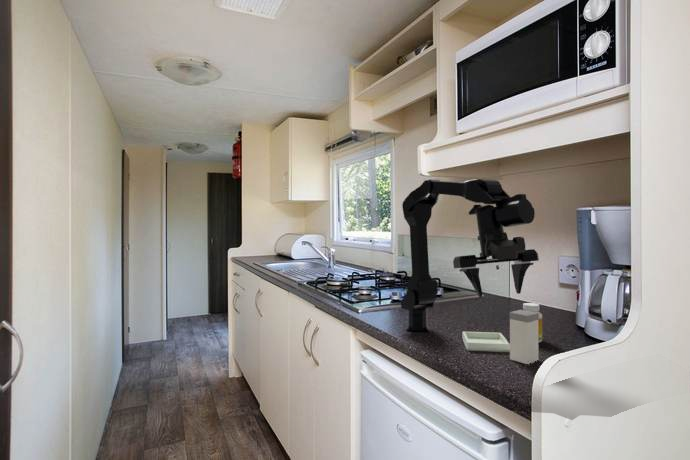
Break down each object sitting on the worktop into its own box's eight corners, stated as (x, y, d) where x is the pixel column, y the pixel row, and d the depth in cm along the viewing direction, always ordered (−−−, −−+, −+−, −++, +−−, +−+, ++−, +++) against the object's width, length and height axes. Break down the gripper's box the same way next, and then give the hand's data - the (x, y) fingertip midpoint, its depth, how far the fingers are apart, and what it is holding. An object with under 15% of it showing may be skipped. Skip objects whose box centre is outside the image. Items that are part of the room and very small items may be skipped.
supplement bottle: (536, 337, 111) (536, 302, 111) (546, 343, 106) (546, 306, 105) (516, 337, 111) (516, 302, 110) (526, 343, 105) (526, 306, 105)
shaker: (509, 359, 94) (509, 312, 94) (520, 355, 96) (520, 309, 96) (527, 364, 90) (527, 315, 90) (538, 360, 93) (538, 313, 93)
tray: (462, 338, 110) (462, 331, 110) (500, 340, 108) (500, 332, 108) (467, 350, 100) (467, 342, 100) (509, 352, 99) (509, 344, 99)
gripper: (464, 229, 89) (473, 301, 87) (546, 222, 90) (556, 293, 88) (449, 235, 100) (457, 298, 98) (522, 228, 101) (531, 291, 99)
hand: (499, 295), depth 95 cm, fingers open, 9 cm apart
